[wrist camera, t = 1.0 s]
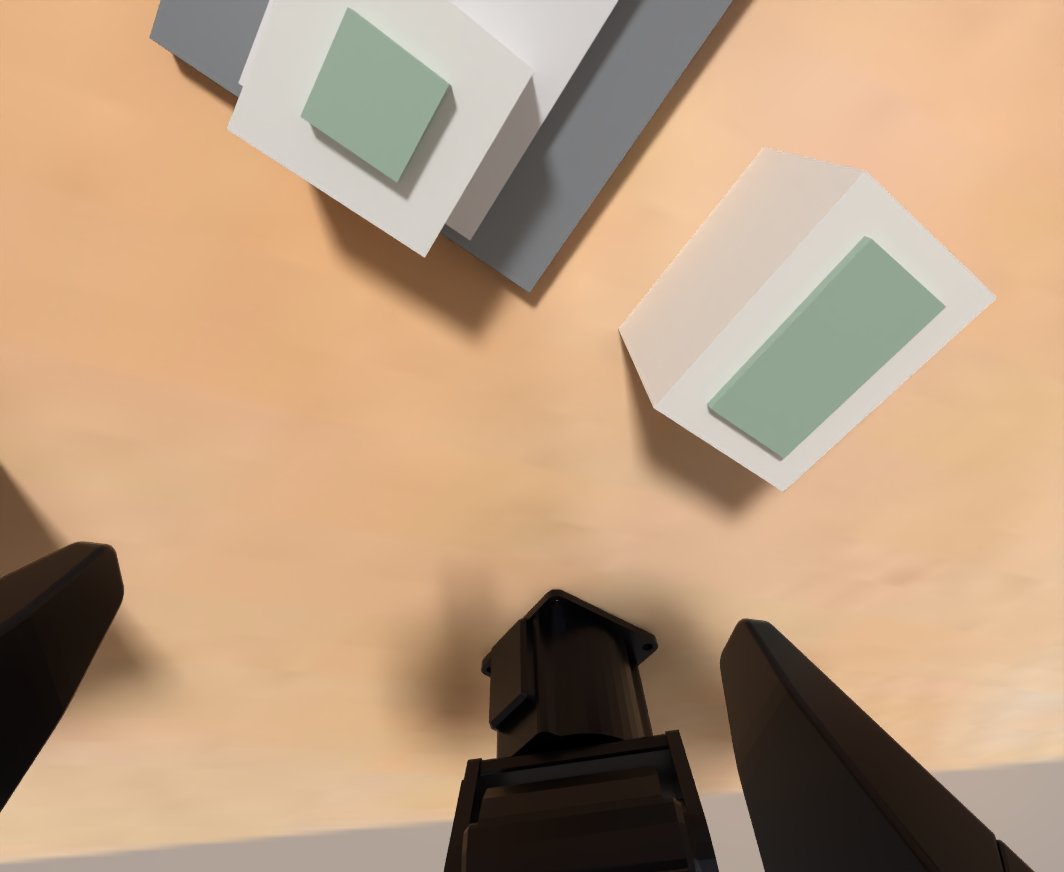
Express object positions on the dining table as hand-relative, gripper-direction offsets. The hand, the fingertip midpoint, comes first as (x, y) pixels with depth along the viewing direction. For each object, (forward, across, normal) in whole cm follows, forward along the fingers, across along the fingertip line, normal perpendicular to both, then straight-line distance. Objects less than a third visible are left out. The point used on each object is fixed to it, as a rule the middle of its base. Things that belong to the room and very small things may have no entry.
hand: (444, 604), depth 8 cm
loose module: (+14, -8, -2) cm, 16 cm away
